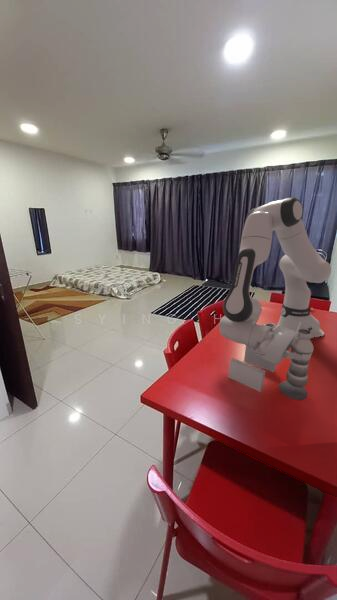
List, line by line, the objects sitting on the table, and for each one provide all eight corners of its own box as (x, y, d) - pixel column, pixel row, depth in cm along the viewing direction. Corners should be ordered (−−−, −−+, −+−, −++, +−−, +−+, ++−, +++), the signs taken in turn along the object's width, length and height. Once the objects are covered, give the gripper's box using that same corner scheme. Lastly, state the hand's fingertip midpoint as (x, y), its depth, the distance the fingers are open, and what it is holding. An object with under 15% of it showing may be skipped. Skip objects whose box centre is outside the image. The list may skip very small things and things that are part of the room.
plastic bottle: (303, 378, 85) (312, 327, 79) (309, 391, 79) (319, 337, 72) (283, 376, 87) (290, 326, 80) (287, 389, 81) (295, 336, 74)
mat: (297, 381, 89) (297, 380, 89) (313, 399, 80) (313, 398, 80) (274, 382, 88) (274, 381, 88) (287, 400, 80) (287, 400, 79)
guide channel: (228, 377, 91) (230, 360, 88) (246, 358, 102) (248, 343, 99) (260, 391, 83) (263, 373, 81) (275, 369, 95) (278, 353, 92)
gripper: (251, 342, 78) (298, 358, 69) (272, 321, 92) (313, 332, 84) (248, 358, 80) (293, 376, 72) (270, 335, 95) (309, 348, 86)
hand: (304, 352), depth 78 cm, fingers closed on plastic bottle, 6 cm apart
